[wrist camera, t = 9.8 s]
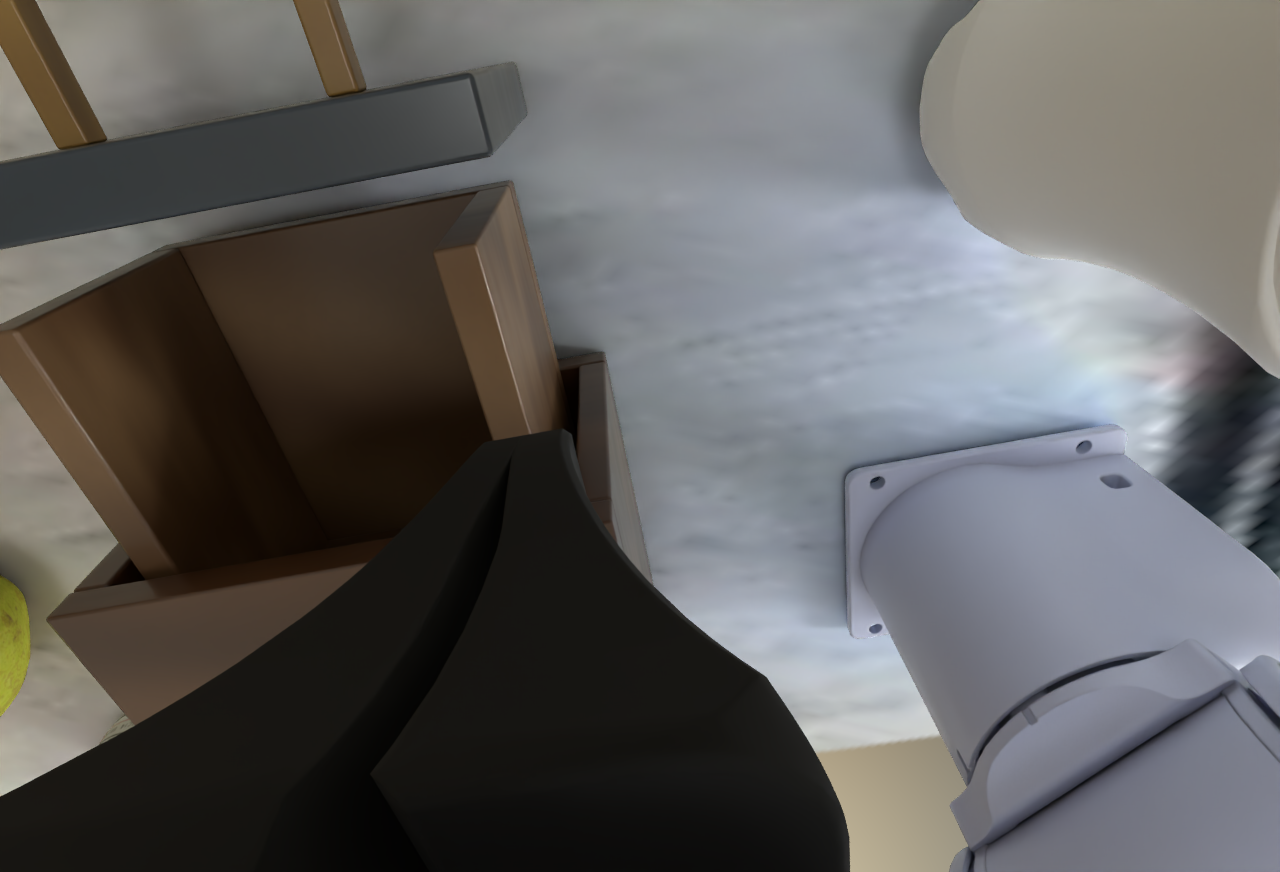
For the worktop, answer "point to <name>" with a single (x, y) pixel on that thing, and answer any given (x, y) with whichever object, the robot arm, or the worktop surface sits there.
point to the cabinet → (289, 579)
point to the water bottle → (1123, 144)
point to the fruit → (12, 642)
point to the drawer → (276, 310)
